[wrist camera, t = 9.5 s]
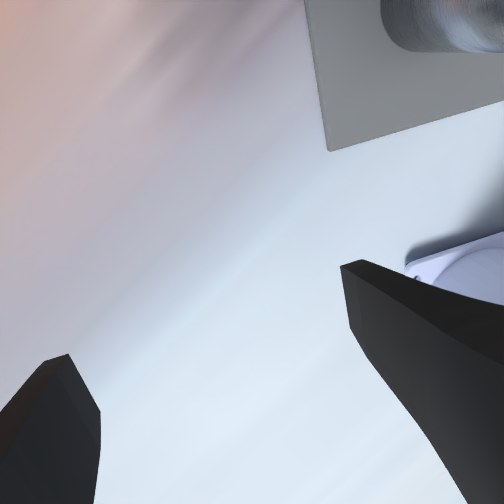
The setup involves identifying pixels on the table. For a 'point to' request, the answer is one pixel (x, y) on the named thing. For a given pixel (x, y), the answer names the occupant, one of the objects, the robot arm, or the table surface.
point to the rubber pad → (388, 76)
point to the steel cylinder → (445, 25)
